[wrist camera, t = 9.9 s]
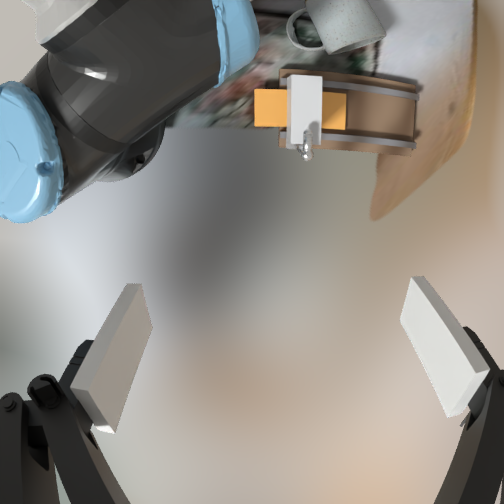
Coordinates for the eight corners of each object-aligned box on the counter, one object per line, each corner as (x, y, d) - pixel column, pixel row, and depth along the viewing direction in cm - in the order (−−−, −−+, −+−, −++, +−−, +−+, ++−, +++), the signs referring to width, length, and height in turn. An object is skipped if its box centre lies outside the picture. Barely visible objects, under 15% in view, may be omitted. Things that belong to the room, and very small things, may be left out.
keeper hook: (285, 148, 37) (295, 162, 29) (286, 122, 36) (296, 128, 27) (305, 148, 37) (320, 163, 29) (305, 123, 36) (321, 130, 27)
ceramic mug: (346, -8, 28) (363, -27, 22) (374, 43, 32) (397, 33, 25) (273, 14, 31) (276, -4, 24) (302, 67, 34) (312, 60, 27)
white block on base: (254, 135, 36) (254, 143, 30) (254, 79, 33) (254, 73, 26) (343, 138, 36) (363, 147, 29) (345, 84, 33) (366, 81, 26)
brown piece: (278, 145, 39) (280, 148, 36) (278, 70, 34) (280, 67, 32) (406, 154, 38) (414, 158, 36) (410, 85, 34) (419, 85, 31)
